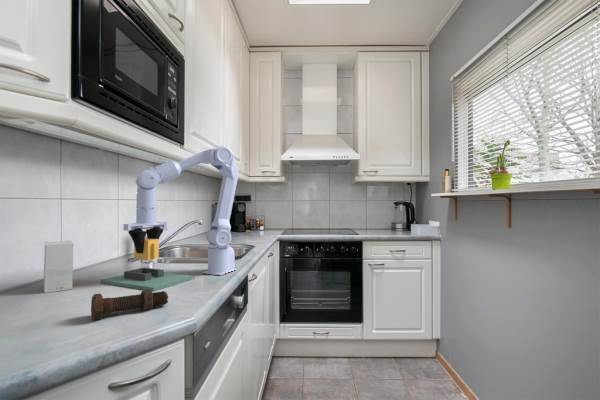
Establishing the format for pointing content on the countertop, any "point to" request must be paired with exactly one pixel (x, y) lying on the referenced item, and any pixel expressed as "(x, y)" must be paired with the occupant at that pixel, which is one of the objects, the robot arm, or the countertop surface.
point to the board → (147, 279)
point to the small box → (58, 266)
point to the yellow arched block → (148, 250)
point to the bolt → (126, 303)
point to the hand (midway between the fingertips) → (145, 252)
